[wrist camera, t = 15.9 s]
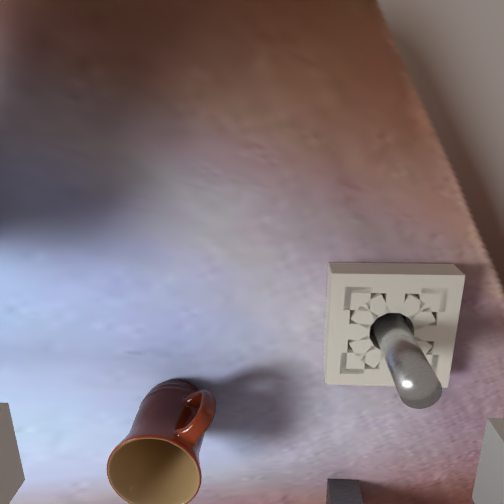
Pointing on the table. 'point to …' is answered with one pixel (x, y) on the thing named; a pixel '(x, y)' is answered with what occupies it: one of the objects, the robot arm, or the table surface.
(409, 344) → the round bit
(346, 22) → the table surface
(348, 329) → the bore block
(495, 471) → the robot arm
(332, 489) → the square bit
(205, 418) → the mug
